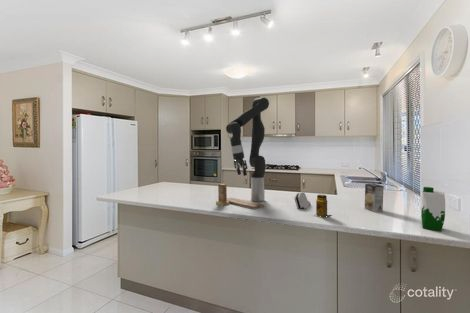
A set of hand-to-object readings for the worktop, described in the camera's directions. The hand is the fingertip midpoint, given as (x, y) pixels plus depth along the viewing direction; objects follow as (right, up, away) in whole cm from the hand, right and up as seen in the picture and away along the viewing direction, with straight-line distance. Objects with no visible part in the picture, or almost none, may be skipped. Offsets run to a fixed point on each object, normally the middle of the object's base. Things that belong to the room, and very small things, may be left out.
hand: (242, 175), depth 172 cm
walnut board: (0, -20, +3) cm, 21 cm away
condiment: (+46, -22, -25) cm, 57 cm away
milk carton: (+93, -23, -48) cm, 107 cm away
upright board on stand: (-14, -20, +2) cm, 25 cm away
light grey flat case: (+40, -21, -3) cm, 45 cm away
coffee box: (+82, -21, -14) cm, 86 cm away
